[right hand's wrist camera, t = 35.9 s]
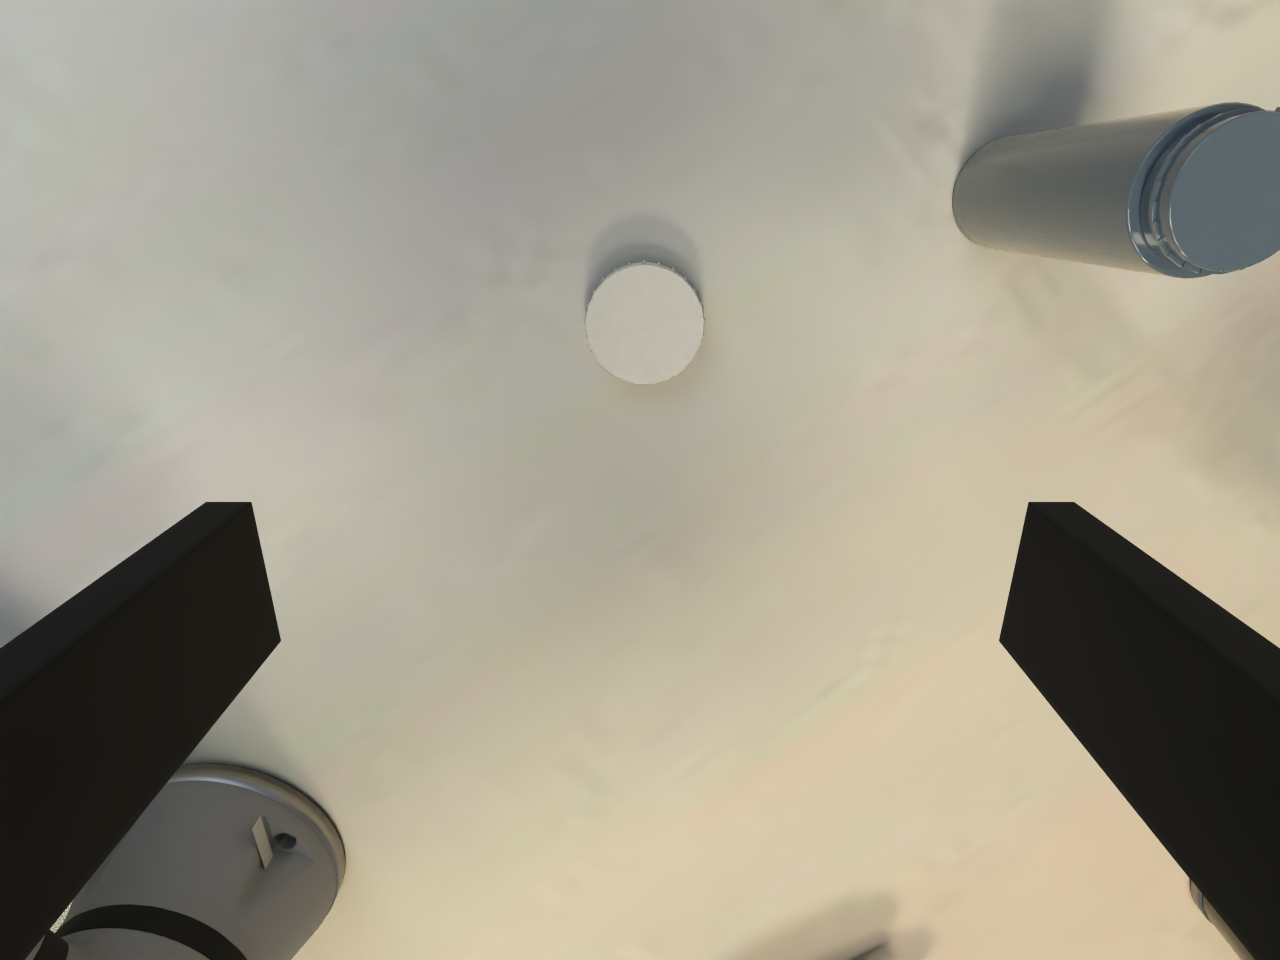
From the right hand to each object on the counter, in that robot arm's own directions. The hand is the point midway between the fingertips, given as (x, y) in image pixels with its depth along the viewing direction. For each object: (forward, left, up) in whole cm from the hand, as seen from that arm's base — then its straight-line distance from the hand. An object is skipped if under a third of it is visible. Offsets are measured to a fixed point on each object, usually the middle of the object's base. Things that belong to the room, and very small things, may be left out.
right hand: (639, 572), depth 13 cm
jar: (+9, -16, -26) cm, 32 cm away
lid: (0, 0, -24) cm, 24 cm away
